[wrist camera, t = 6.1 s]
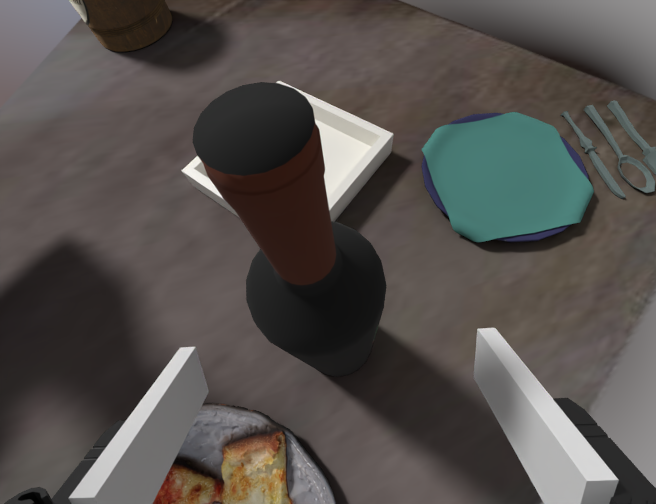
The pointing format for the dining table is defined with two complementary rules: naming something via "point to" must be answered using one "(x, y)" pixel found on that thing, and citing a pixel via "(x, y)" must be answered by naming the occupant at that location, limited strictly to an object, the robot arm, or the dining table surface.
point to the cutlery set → (518, 174)
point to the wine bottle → (292, 228)
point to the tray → (327, 156)
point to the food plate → (242, 463)
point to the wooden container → (125, 21)
